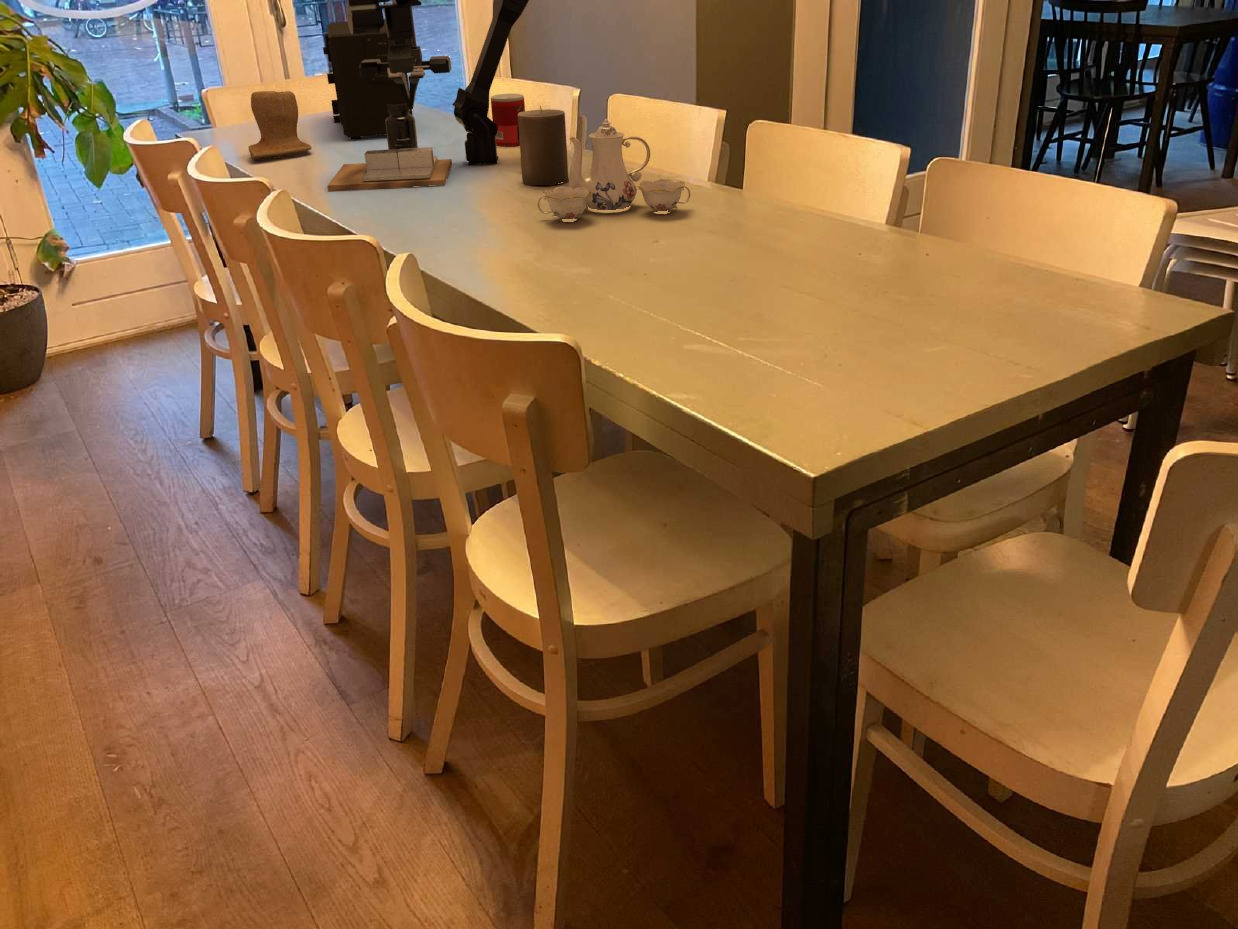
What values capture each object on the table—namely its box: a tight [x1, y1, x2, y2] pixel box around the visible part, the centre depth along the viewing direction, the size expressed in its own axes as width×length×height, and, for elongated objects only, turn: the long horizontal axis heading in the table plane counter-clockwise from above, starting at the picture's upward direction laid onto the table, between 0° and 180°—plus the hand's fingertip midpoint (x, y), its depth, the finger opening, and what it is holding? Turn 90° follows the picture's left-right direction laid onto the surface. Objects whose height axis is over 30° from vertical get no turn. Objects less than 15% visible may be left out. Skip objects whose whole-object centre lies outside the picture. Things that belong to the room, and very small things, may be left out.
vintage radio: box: [322, 18, 414, 141], centre depth 267 cm, size 38×20×25 cm, turn 15°
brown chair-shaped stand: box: [247, 90, 313, 161], centre depth 240 cm, size 15×12×15 cm
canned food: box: [490, 93, 526, 147], centre depth 245 cm, size 8×8×11 cm
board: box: [327, 158, 453, 192], centre depth 220 cm, size 24×20×1 cm
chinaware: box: [537, 118, 691, 220], centre depth 185 cm, size 28×17×17 cm, turn 106°
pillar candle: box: [518, 106, 569, 186], centre depth 209 cm, size 10×10×15 cm
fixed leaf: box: [398, 146, 439, 171], centre depth 221 cm, size 14×11×4 cm
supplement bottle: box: [385, 102, 419, 150], centre depth 235 cm, size 7×7×12 cm
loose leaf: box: [362, 149, 433, 181], centre depth 215 cm, size 14×11×4 cm
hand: (411, 108), depth 219 cm, fingers closed
